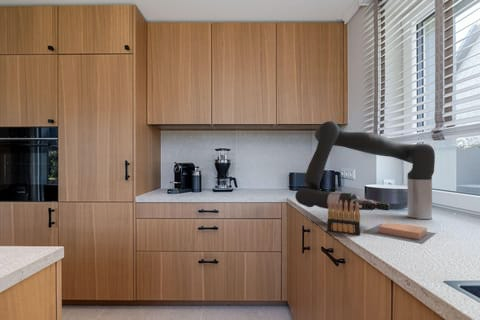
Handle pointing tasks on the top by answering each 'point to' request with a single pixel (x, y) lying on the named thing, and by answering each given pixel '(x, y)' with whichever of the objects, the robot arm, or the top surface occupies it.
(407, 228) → the tile
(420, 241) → the mat
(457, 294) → the top surface
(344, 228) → the ammunition clip
